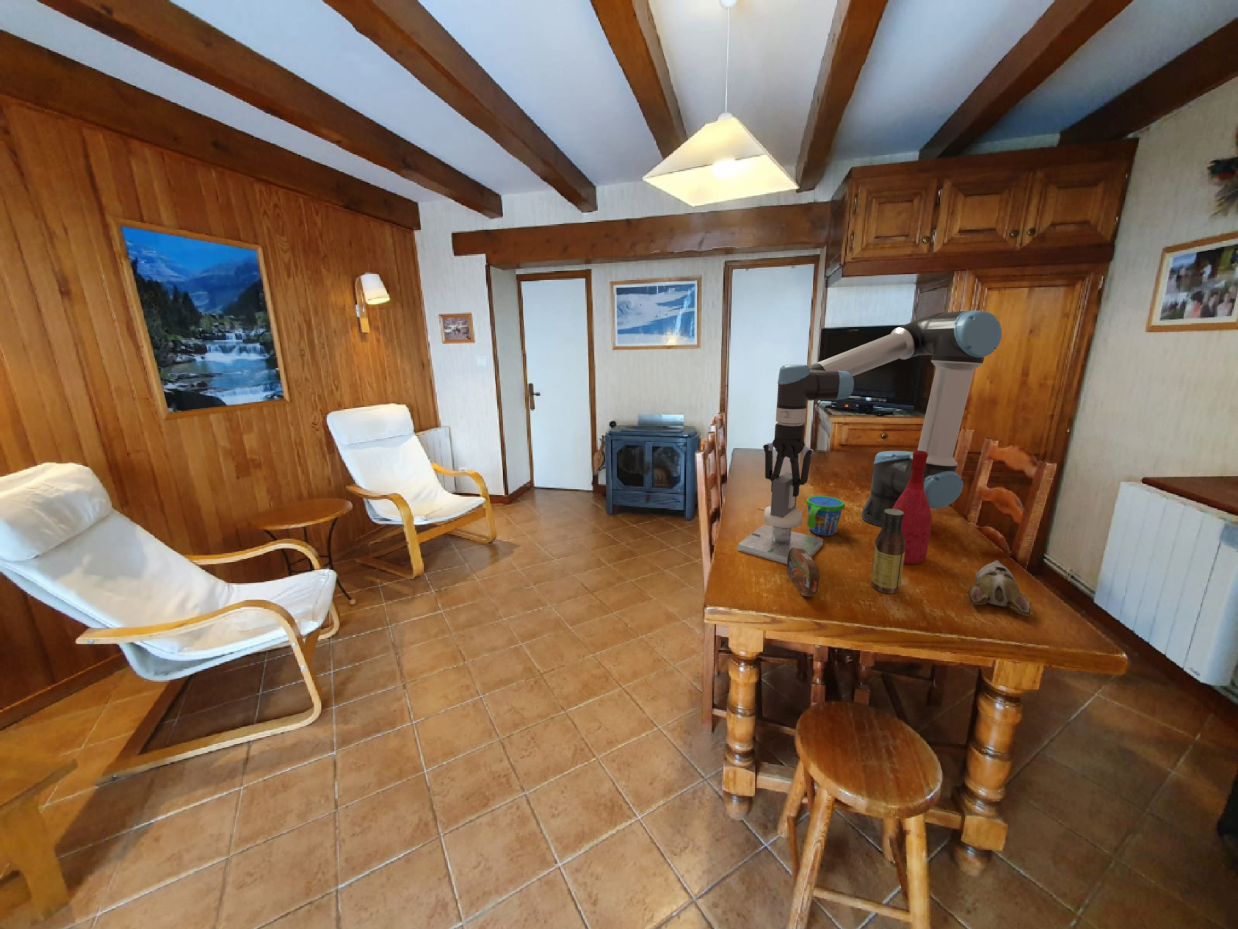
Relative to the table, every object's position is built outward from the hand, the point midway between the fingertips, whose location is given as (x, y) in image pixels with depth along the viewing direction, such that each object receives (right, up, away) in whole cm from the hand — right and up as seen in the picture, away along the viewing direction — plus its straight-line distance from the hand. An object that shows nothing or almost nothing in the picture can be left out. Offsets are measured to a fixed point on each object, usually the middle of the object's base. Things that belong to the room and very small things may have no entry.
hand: (783, 505), depth 131 cm
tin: (-2, -19, -17) cm, 25 cm away
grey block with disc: (-1, -4, +2) cm, 5 cm away
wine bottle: (+32, -14, -4) cm, 35 cm away
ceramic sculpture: (+39, -20, -25) cm, 51 cm away
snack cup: (+17, -10, +14) cm, 24 cm away
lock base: (0, -13, +3) cm, 13 cm away
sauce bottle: (+17, -19, -19) cm, 32 cm away
